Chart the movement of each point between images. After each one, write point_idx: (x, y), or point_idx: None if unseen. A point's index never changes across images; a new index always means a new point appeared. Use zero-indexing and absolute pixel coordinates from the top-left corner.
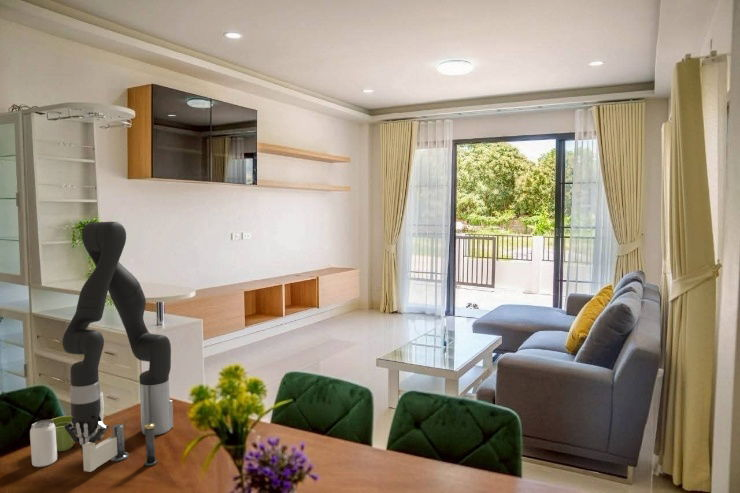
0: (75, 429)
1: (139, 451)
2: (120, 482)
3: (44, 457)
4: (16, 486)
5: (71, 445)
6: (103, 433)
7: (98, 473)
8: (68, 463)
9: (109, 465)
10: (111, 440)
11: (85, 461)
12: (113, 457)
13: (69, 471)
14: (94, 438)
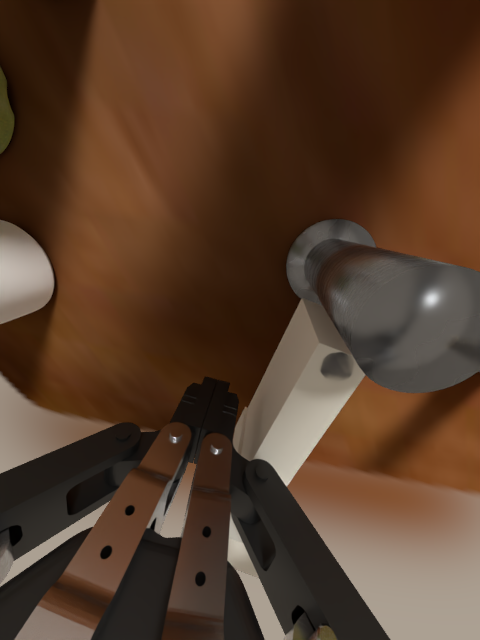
0: (29, 518)
1: (428, 195)
2: (379, 456)
3: (8, 320)
4: (61, 414)
5: (2, 103)
6: (324, 558)
7: None
8: (117, 290)
9: None
10: (341, 404)
11: None
12: (303, 282)
13: (162, 355)
14: (261, 550)
